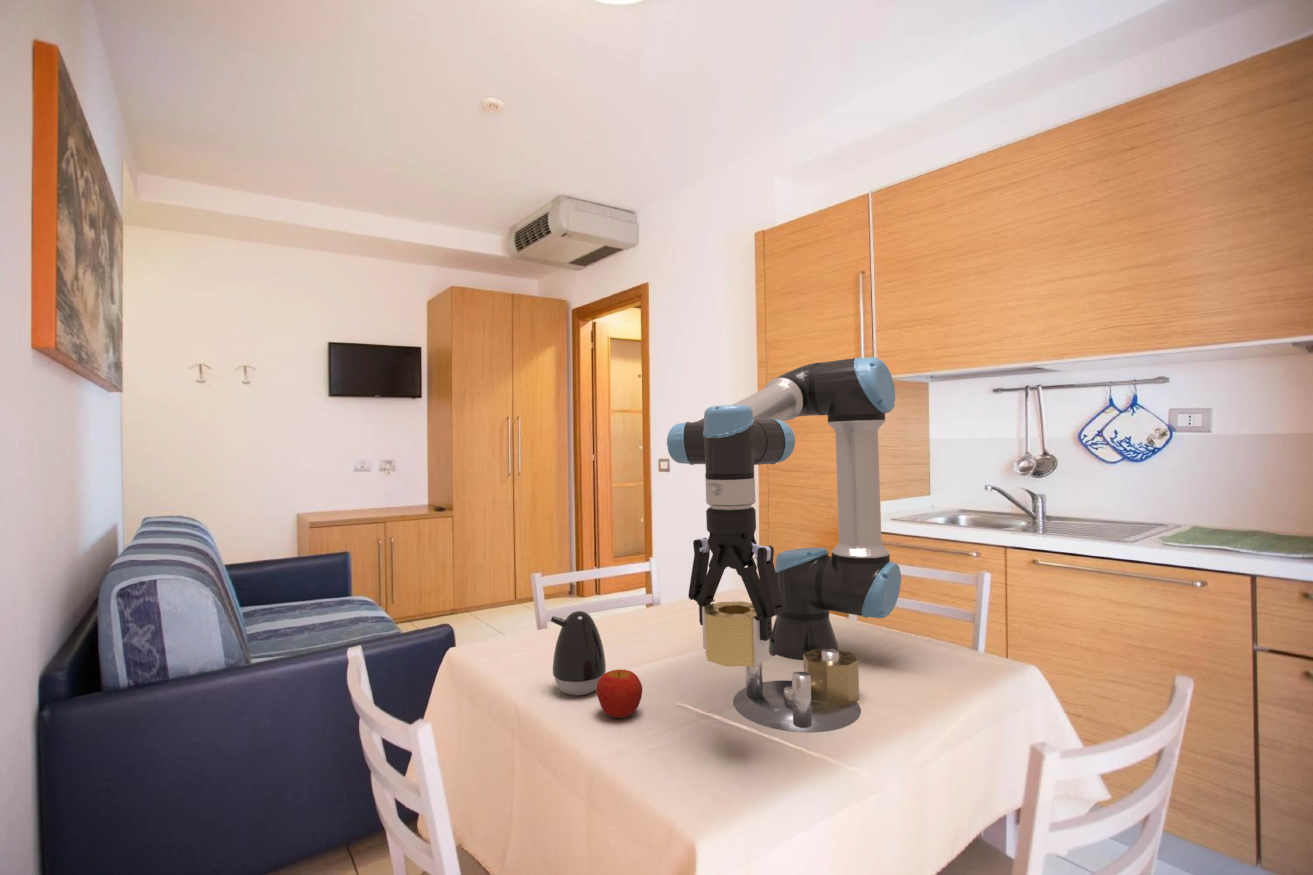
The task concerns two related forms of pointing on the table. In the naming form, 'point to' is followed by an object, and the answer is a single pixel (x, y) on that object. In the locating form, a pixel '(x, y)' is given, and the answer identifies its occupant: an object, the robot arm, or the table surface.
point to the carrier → (791, 703)
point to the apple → (619, 693)
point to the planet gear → (729, 633)
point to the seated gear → (832, 678)
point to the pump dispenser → (578, 654)
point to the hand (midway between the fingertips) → (735, 653)
